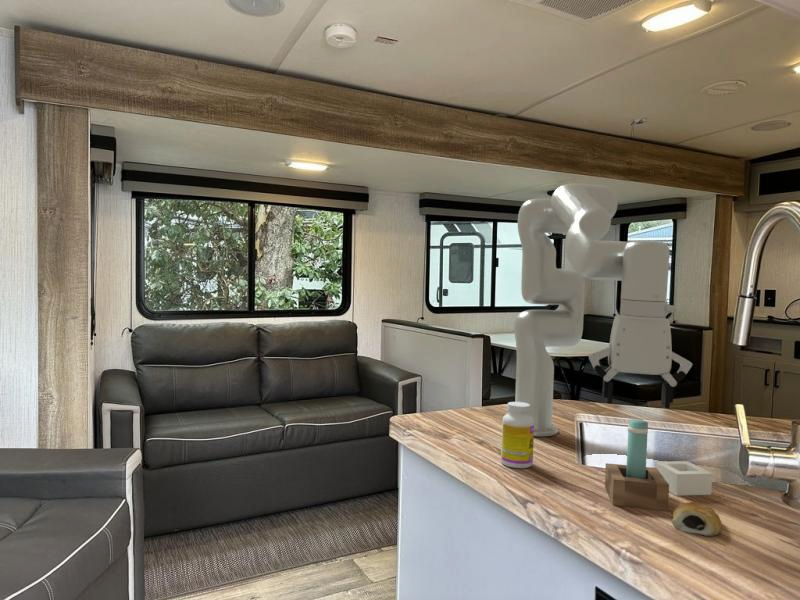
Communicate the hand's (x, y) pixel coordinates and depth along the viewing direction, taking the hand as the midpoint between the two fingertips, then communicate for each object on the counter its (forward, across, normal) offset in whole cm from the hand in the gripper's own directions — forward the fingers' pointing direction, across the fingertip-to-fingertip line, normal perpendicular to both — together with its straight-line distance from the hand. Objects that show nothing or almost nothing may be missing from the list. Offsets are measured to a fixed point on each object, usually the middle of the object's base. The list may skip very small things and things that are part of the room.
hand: (636, 404), depth 100 cm
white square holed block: (+17, -10, -7) cm, 21 cm away
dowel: (+17, 0, +1) cm, 17 cm away
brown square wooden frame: (+17, 0, +1) cm, 17 cm away
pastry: (+17, -8, +11) cm, 22 cm away
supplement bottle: (+18, +20, -12) cm, 30 cm away
